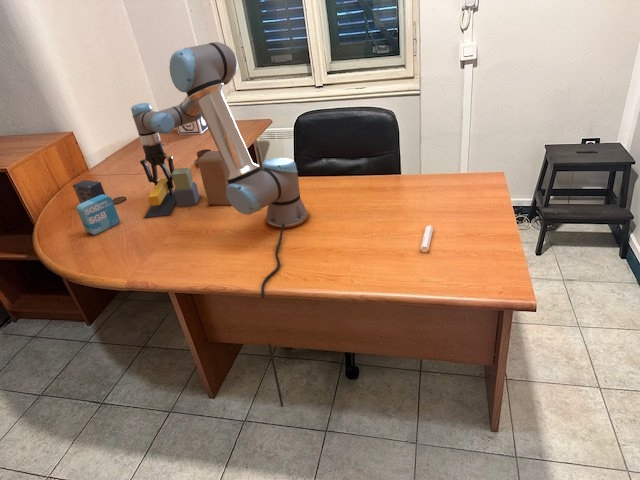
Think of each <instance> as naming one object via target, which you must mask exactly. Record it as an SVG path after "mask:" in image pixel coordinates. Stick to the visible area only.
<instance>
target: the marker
mask: <svg viewBox="0 0 640 480" xmlns="http://www.w3.org/2000/svg"><path fill="white" fill-rule="evenodd" d="M433 231H434V228H433V226H432V224H429V225H427V226H426V227H425V229H424V233H423V237H422V241H421V246H420V251H421V252H422V253H427V252H428V251H429V250H430V246H431V241H432V237H433Z"/></svg>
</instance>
